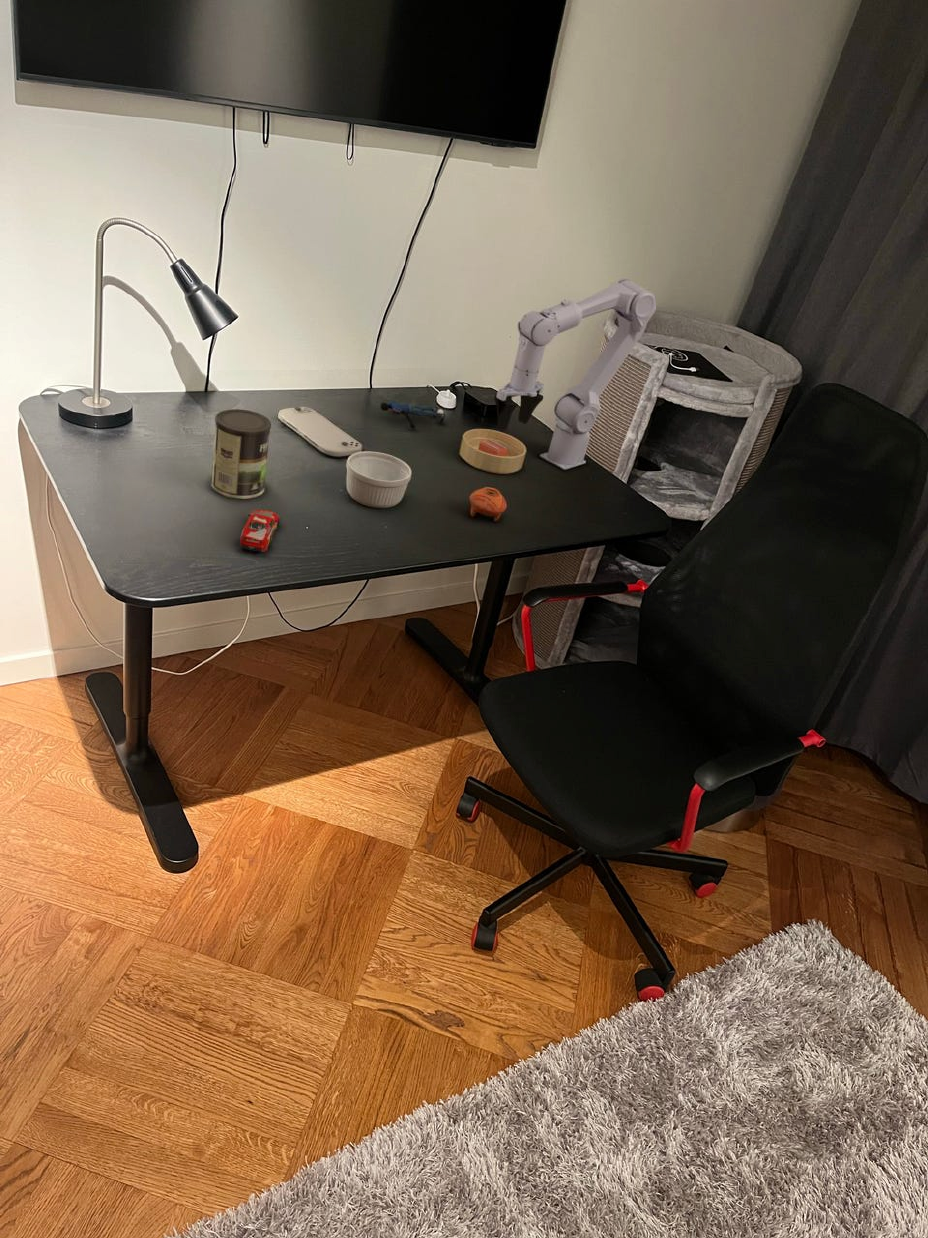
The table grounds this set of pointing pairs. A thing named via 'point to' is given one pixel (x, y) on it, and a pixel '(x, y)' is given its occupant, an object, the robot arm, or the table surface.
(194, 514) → the table surface
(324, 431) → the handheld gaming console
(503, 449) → the orange-red block
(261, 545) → the race car
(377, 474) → the ramekin
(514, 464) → the bowl
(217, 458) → the coffee can
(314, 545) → the table surface
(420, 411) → the person figurine
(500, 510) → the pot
